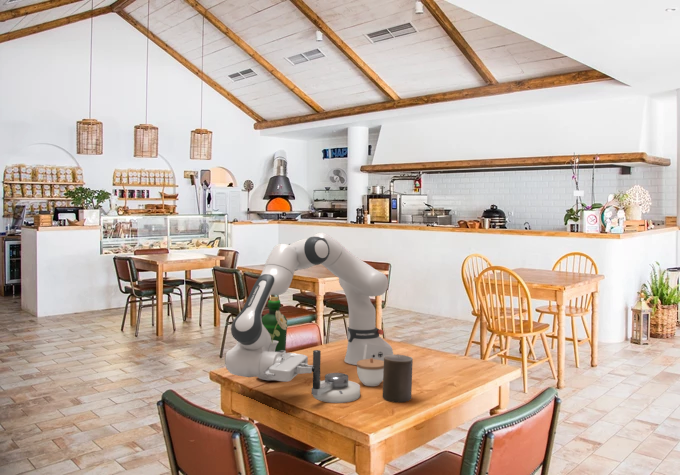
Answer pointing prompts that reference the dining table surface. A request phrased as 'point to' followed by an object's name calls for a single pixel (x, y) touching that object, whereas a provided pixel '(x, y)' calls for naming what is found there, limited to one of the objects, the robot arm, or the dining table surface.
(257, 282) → the robot arm
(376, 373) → the lidded jar
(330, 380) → the saucepan with upright handle
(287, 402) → the dining table surface
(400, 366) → the pillar candle
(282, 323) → the flower in vase
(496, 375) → the dining table surface
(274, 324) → the bottle
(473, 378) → the dining table surface
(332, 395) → the light grey round disc
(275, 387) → the dining table surface
